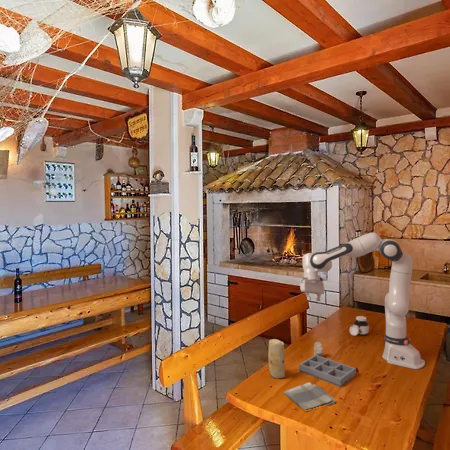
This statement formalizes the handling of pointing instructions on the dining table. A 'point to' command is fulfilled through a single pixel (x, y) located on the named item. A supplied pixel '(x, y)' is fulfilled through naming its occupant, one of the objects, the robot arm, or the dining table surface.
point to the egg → (318, 349)
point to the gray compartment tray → (327, 370)
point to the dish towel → (309, 396)
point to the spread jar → (359, 326)
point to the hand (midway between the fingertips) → (313, 300)
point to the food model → (276, 358)
